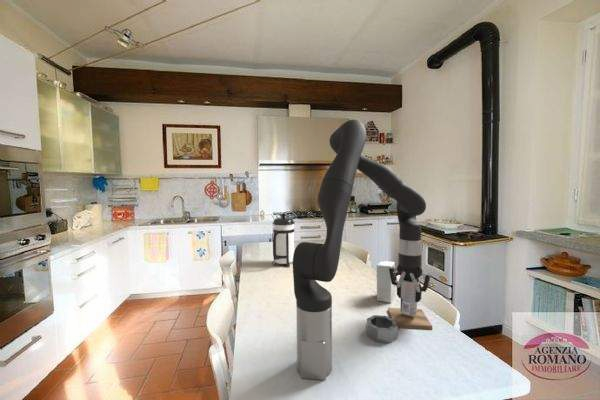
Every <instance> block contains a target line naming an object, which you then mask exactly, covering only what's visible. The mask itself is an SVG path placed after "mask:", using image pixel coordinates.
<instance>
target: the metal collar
mask: <svg viewBox="0 0 600 400" xmlns="http://www.w3.org/2000/svg"><path fill="white" fill-rule="evenodd" d="M365 330H366V334H367V337H368V338H369V339H371V340H373V341H375V342H376V343H380V344H381V343H385V344H392V342H395V341H397V340H398V334H399V331H398V330H399V327H398V326H397V324H396V321H395V320H394V319H391V317H389V316H387V315H380V314H378V315H376V314H372V315H371V316H369V317H367V318H366V329H365Z"/></svg>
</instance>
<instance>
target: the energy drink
mask: <svg viewBox="0 0 600 400" xmlns="http://www.w3.org/2000/svg"><path fill="white" fill-rule="evenodd" d="M416 291H417V290H416V288H415V286H414V284H413V282H410V281H405V280H404V279H403V281H402V283H401V298H400V308H401V312H402V313H403V314H404V315H407V316H414V315H416V314H417V309H418V302H416Z"/></svg>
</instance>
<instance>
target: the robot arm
mask: <svg viewBox="0 0 600 400" xmlns="http://www.w3.org/2000/svg"><path fill="white" fill-rule="evenodd" d="M366 141H367V130H366V128H365V126H364V124H363V123H362V122H361V121H360V120H358V119H348V120H347V121H345V122H343V123H342V124H341V125H340V126H339V127H338V128H337V129H336V130H334V132H332V134H331V135H330V136H329V145H330V148H331V150H333V152H334V153H335V154H336V156H335V157H334V158H333V160H332V161H331V163H330V165H329V167H328V168H327V170H326V172H325V174H324V175H323V178H322V181H321V184H320V186H319V190H318V193H317V194H318V195H317V205H318V209H319V210H320V212H321V213H320V214H321V215H322V217H323V221H324V222H325V227H326V236H325V241H324V243H318V242H317V243H316V242H309V241H302V242H300V243H298V244H297V245H296V247H294V255H293V262H292V277H293V292H294V293H293V294H294V297H295V301H296V309H295V310H296V367H297V372H298V373H299V374H300V378H301V379H311V380H321V381H324V380H326V378H327V377H328V376H329V375H330V374H331V372H332V370H333V323H332V322H333V303H332V302H333V299H332V298H333V297H332V294H331V292H330V291H329V290H328V289H326V288H325V287H323V286H322V285H321V284H319V283H318V282H325V283H330V282H332V281H333V279H334V278H335V276H336V274H337V272H338V266H339V261H340V255H341V250H342V249H341V248H342V242H343V241H342V240H343V232H344V228H345V225H346V224H345V223H346V218H347V214H348V210H349V206H350V202H351V199H352V194H353V190H354V189H353V188H354V183H355V178H356V174H357V171H360V172H361V173H362V174H363V175H365V176H366V177H367V178H368V179H370V180H371V181H372V182H373V183H374V184H375V185H376V186H377V187H378V189H380V190H381V191H382V192H383V193H384V194H385V195H386V196H387V197H388V198H390V199H393V200H395V201H396V205H395V206H396V215H397V221H398V224H399V236H398V237H399V239H398V240H399V241H398V249H397V250H398V252H397V254H398V257H397V260H398V261H397V267H396V266H395V267H393V266H392V267H391V268H389V272H390V277H391V283H392V284H393V285H395V287H396V296H398V299H401V283H402V281H403V279H404V280H405V281H410V282H413V284H414V286H415V288H416V290H417V291H416V302H417V303H419V302H421V300H422V295H423V294H422V292H424V293H426V291H427V290H428V288H429V287H430V286H429V285H430V281H431V278H432V273H429V272H428V273H426V272H424V271H423V269H422V258H423V257H422V255H423V254H422V253H423V248H422V247H423V246H422V225H421V224H420V222H418V221H417V216H421V215H423V213H425V211H426V209H427V202H426V201H425V198H424V197H423V196H422V195H421V194H420V193H419V192H417V190H415V189H414V188H412V187H411V186H409V185H408V184H406V183H405V181H404V180H403V179H402V178H401V177H399V175H398V174H397V173H396V172H395V171H394V170H392V169H391V168H390V166H387V165H385V164H383V163H380V162H378V161H376V160H373V159H370V158H369V157H367V156H365V155H364V153H363V151H364V147H365V146H366ZM397 273H398V275H399V276H400V277H399V279H397ZM421 276H422V279H423V280H424V281H423V285H421V280H420V277H421ZM317 281H318V282H317Z"/></svg>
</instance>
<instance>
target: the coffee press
mask: <svg viewBox="0 0 600 400" xmlns="http://www.w3.org/2000/svg"><path fill="white" fill-rule="evenodd" d="M272 225H273V226H272V232H273V234H272V255H273V261H272V263H271V265H272V266H273V267H274V266H276V265H277V264H278V265H279V264H280V265H285V267H286V268H290V264H293V255H294V251H295V221H294V219H293V218H292V217H286V214H285V213H281V216H280V217H276V218H275V219H273V222H272Z"/></svg>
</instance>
